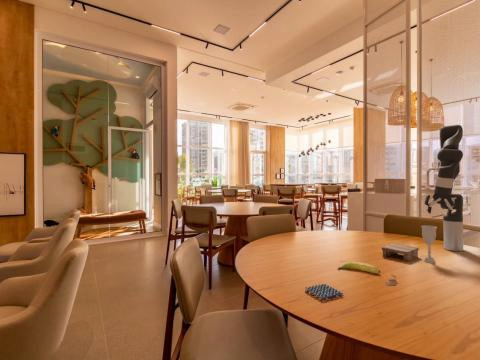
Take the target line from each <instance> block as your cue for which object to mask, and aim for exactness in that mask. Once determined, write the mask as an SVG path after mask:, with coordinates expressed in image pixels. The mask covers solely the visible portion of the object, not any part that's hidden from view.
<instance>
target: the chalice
mask: <svg viewBox="0 0 480 360" xmlns="http://www.w3.org/2000/svg"><path fill="white" fill-rule="evenodd" d="M420 227H421V236H422V239H423V241H424V242H425V244H426V245H427V256H425V257H424V259H423V262H425V263H428V264H435V263H437V262H436V261H435V258H434V257H433V256H431V255H432V254H431V253H432V251H431V250H432V247H431V245H433V244H434V243H435V240H436V238H437V229H438V227H437V226H436V225H435V226H434V225H425V224H424V225H420Z"/></svg>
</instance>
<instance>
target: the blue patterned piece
mask: <svg viewBox="0 0 480 360" xmlns="http://www.w3.org/2000/svg"><path fill="white" fill-rule="evenodd" d="M308 292H310V293H308ZM305 293H308V295H311V296H312V295H314V296H312V297H313V298H315V299H318V301H321V302H328V301H331V300H332V301H333V300H336V299H339V298H344V297H345V295H344V293H343V292H342V291H340V290H338V289H336V288H334V287H332V286H330V285H328V284H324V283H321V284H318V285H316V284H315V286H314V285H312V286H308V287H307V286H305Z"/></svg>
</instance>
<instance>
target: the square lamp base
mask: <svg viewBox="0 0 480 360" xmlns="http://www.w3.org/2000/svg"><path fill="white" fill-rule="evenodd" d="M419 250H420V249H419V247H416V246H410V245H404V244H400V243H399V244H398V243H390V244H388V245H384V246H382V247H381V251H382V257H384V258H386V257H389V256H392V255H395V254H401V255H403V262H411V261H413V260H414V259H417V258H419Z"/></svg>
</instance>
